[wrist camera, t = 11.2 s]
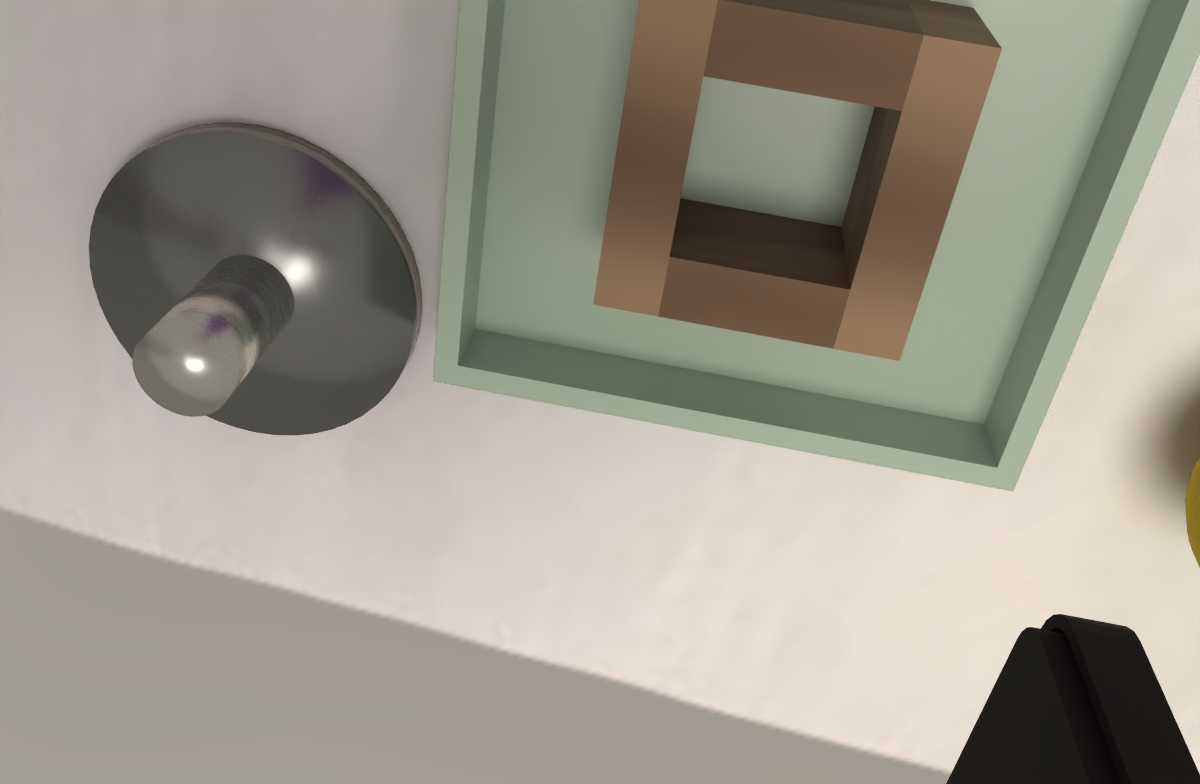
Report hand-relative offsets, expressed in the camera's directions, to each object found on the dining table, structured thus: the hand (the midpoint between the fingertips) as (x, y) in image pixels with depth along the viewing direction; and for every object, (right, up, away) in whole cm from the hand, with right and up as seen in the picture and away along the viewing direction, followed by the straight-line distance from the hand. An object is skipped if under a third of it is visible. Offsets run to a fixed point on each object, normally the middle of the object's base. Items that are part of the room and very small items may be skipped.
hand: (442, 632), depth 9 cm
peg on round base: (-8, +5, +21) cm, 23 cm away
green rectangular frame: (+6, +8, +17) cm, 20 cm away
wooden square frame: (+6, +8, +17) cm, 20 cm away
